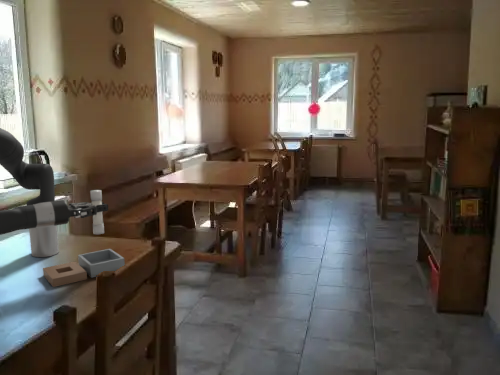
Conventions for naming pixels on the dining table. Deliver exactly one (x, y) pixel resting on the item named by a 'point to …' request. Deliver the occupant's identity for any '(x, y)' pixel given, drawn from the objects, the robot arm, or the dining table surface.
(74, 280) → the block
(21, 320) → the dining table surface
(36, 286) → the dining table surface
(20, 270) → the dining table surface
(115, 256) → the parts tray
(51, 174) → the robot arm
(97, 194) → the fuse
